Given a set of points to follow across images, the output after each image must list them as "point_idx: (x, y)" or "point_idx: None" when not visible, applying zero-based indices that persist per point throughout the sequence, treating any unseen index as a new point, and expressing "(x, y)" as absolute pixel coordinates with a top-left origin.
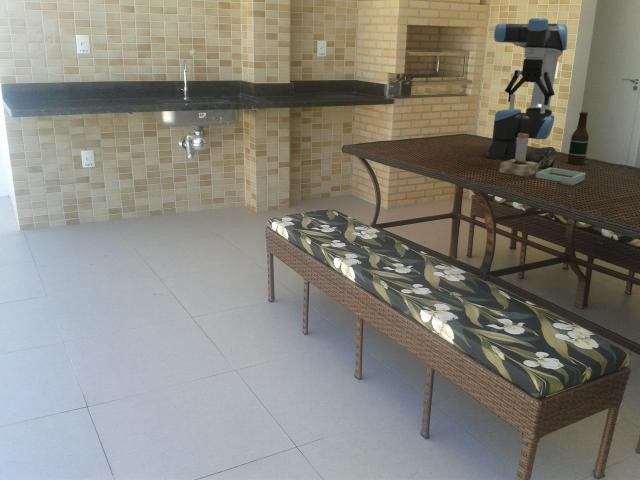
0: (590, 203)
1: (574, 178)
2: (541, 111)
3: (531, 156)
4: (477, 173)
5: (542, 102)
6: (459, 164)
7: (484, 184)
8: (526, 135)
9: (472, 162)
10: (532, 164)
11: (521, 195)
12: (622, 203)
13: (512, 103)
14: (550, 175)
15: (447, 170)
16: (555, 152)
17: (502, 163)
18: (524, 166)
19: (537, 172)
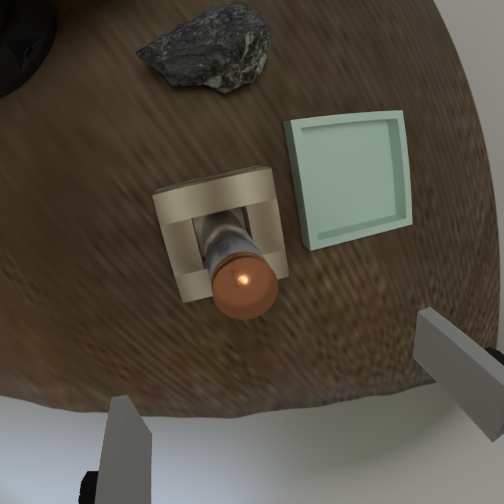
0: (456, 316)
1: (410, 208)
2: (426, 363)
3: (161, 66)
4: (142, 332)
5: (468, 409)
6: (17, 279)
7: (251, 399)
8: (274, 296)
9: (6, 212)
10: (272, 216)
11: (356, 389)
12: (488, 264)
13: (141, 472)
14: (355, 238)
15: (79, 370)
16: (268, 29)
17: (191, 300)
18: (277, 276)
19: (312, 244)
